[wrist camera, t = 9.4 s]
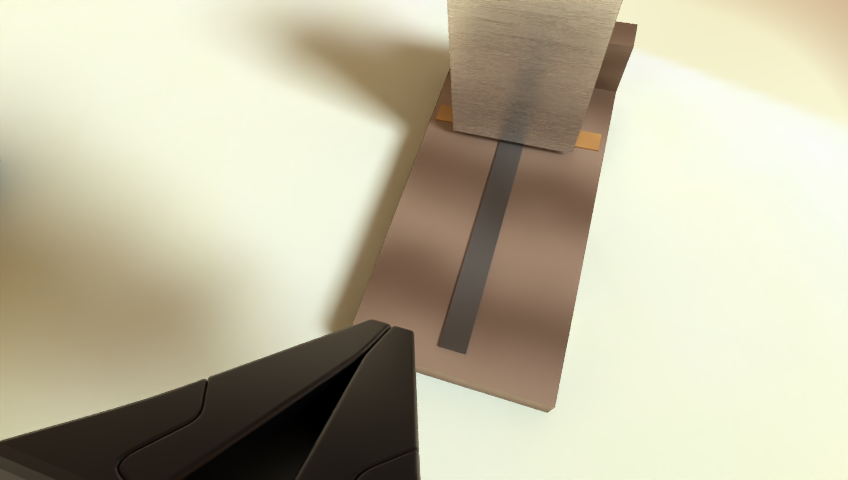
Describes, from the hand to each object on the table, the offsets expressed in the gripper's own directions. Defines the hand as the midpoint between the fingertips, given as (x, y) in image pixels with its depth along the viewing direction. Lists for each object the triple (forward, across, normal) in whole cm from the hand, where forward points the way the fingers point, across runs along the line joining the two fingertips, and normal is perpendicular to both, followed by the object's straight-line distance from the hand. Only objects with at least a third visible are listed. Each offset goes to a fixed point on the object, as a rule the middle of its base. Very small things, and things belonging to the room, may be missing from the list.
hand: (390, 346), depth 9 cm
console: (+17, 0, +2) cm, 17 cm away
